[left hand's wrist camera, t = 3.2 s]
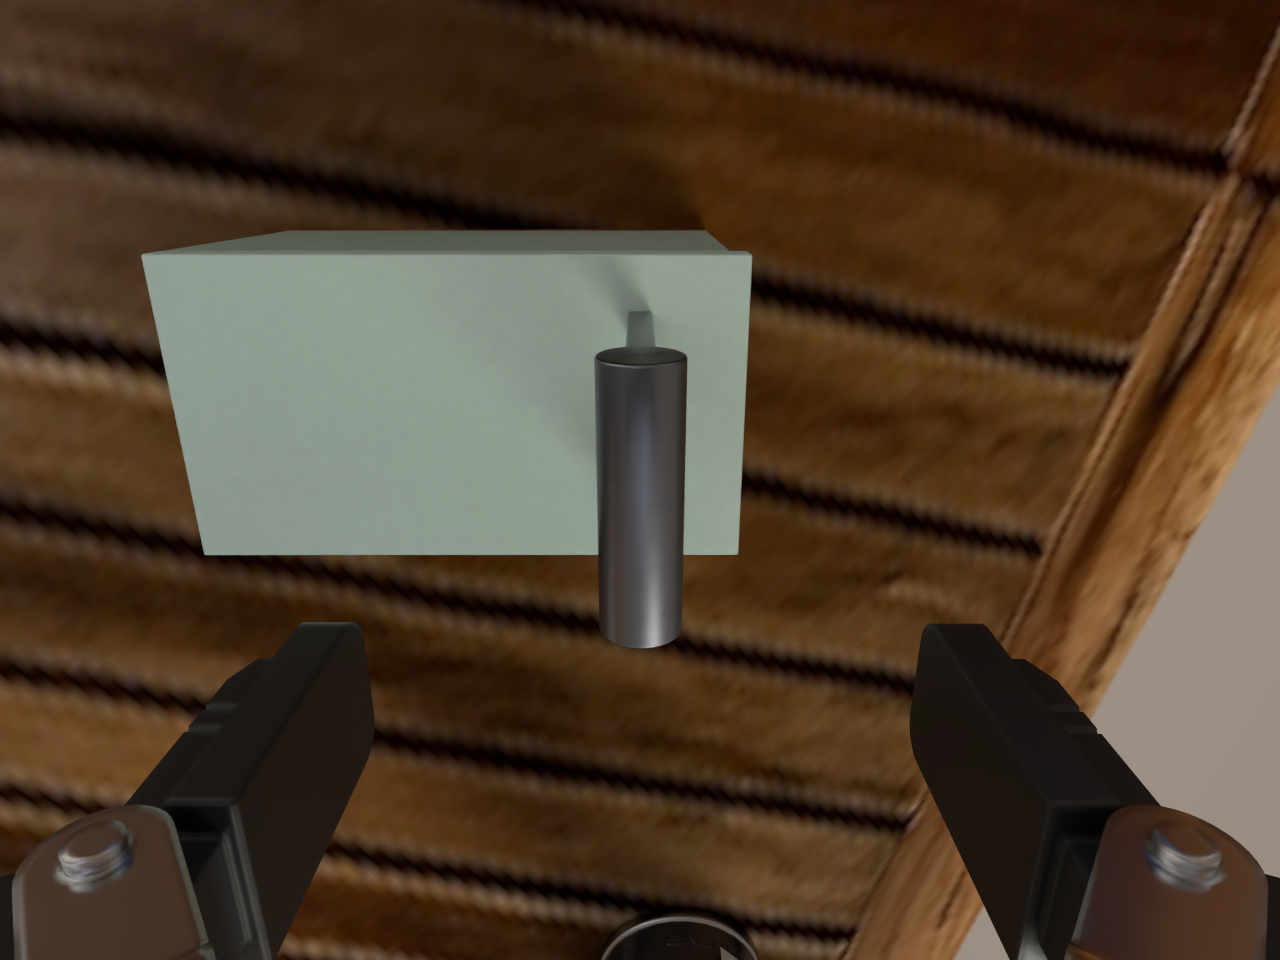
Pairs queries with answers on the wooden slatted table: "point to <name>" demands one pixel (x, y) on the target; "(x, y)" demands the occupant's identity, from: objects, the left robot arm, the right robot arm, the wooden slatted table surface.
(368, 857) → the wooden slatted table surface
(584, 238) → the chest
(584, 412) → the lid
